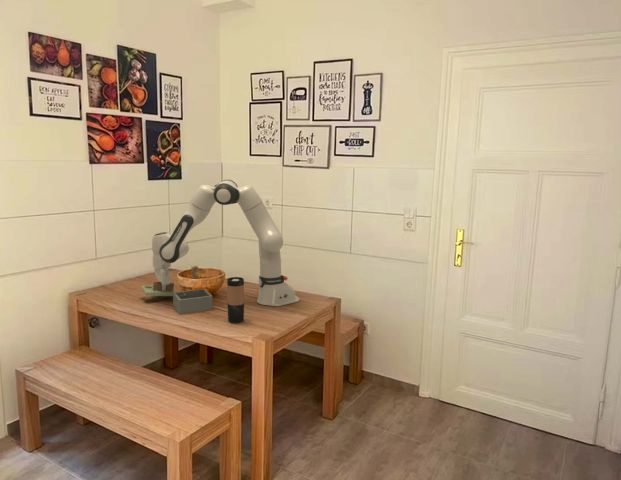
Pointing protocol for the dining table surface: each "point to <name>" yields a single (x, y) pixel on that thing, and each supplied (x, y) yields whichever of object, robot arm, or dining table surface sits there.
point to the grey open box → (192, 301)
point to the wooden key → (195, 272)
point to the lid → (158, 289)
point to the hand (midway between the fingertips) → (162, 289)
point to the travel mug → (235, 299)
